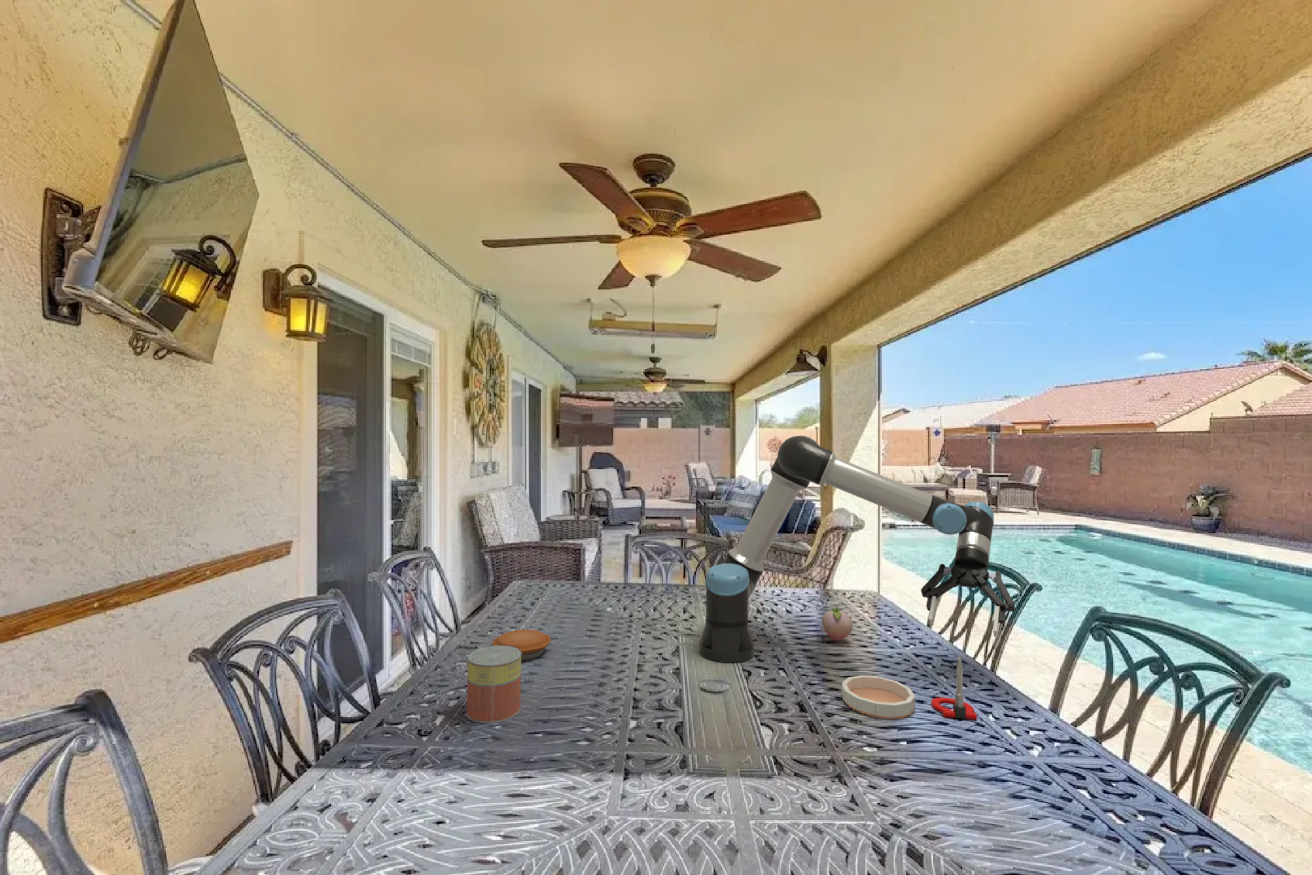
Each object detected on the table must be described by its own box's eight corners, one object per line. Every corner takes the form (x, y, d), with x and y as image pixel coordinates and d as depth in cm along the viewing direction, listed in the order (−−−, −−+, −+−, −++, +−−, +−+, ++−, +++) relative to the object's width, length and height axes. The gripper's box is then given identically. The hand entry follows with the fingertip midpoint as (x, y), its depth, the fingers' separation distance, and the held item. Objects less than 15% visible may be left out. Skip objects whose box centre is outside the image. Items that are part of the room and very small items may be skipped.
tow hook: (926, 700, 133) (939, 718, 124) (926, 644, 134) (940, 657, 124) (965, 704, 132) (981, 722, 122) (965, 647, 132) (982, 660, 123)
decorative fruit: (856, 647, 165) (856, 612, 166) (827, 646, 166) (828, 611, 166) (846, 635, 175) (846, 603, 175) (819, 635, 175) (819, 602, 175)
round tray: (848, 715, 124) (848, 701, 124) (838, 686, 139) (838, 673, 139) (922, 722, 122) (922, 707, 122) (903, 691, 136) (903, 678, 136)
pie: (479, 659, 152) (479, 640, 152) (514, 640, 167) (515, 623, 167) (528, 668, 147) (529, 649, 147) (560, 648, 161) (561, 630, 161)
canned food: (504, 693, 132) (504, 641, 132) (530, 711, 124) (531, 655, 124) (457, 709, 124) (457, 653, 124) (482, 728, 116) (483, 669, 116)
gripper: (1030, 570, 143) (1025, 647, 131) (922, 556, 158) (908, 625, 146) (1029, 552, 139) (1023, 630, 127) (918, 540, 154) (903, 609, 141)
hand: (962, 628), depth 136 cm, fingers open, 13 cm apart
